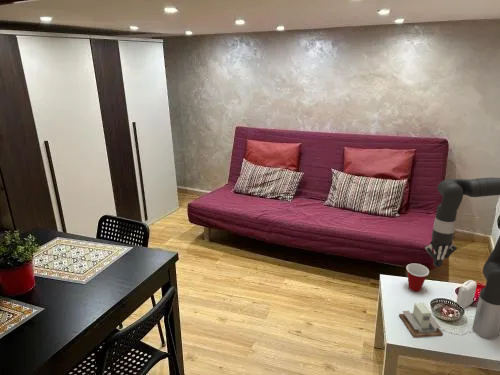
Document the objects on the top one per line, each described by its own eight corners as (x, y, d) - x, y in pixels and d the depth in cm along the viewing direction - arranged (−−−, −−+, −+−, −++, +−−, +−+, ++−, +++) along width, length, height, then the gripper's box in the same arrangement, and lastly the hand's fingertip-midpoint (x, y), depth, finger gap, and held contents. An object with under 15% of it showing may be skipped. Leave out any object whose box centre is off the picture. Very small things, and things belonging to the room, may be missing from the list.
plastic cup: (406, 294, 185) (409, 274, 181) (401, 282, 195) (403, 262, 191) (429, 295, 184) (432, 275, 180) (422, 283, 194) (425, 263, 190)
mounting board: (426, 314, 171) (426, 312, 170) (442, 335, 157) (443, 333, 157) (399, 316, 170) (399, 313, 170) (413, 337, 157) (413, 335, 156)
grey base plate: (425, 313, 169) (426, 309, 168) (440, 332, 158) (440, 327, 157) (401, 315, 169) (402, 311, 168) (414, 333, 157) (415, 329, 157)
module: (420, 317, 167) (423, 302, 164) (429, 328, 160) (432, 313, 157) (412, 317, 166) (414, 303, 164) (420, 329, 159) (423, 314, 157)
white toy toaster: (465, 297, 182) (469, 276, 178) (474, 302, 178) (479, 280, 174) (454, 305, 176) (458, 283, 172) (463, 310, 173) (468, 288, 169)
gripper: (432, 233, 142) (426, 272, 147) (465, 232, 142) (457, 270, 148) (422, 225, 149) (417, 262, 154) (454, 224, 149) (447, 260, 155)
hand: (437, 266), depth 151 cm, fingers closed
